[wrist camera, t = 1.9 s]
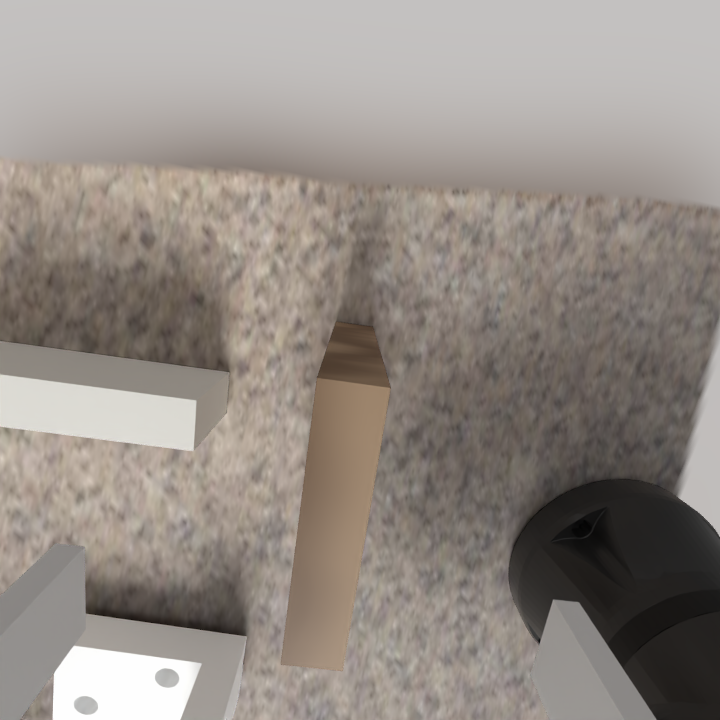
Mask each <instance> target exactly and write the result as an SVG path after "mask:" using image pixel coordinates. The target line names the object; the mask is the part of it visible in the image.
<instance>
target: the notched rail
mask: <svg viewBox="0 0 720 720" xmlns="http://www.w3.org/2000/svg"><path fill="white" fill-rule="evenodd" d="M229 374H230V372H224V371H217V370H210V369H202V368H195V367H188V366H180V365H173V364H166V363H158V362H151V361H144V360H136V359H129V358H122V357H114V356H107V355H100V354H92V353H85V352H78V351H70V350H63V349H56V348H48V347H41V346H34V345H26V344H19V343H12V342H4V341H0V427H8V428H16V429H24V430H32V431H39V432H47V433H55V434H63V435H71V436H79V437H87V438H94V439H102V440H110V441H118V442H126V443H134V444H141V445H149V446H157V447H165V448H173V449H181V450H189V451H194V450H195V449H196V448H197V447H198V445H199V444H200V443H201V442H202V441H203V440H204V439H205V437H206V436H207V435H208V434H209V433H210V432H211V430H212V429H213V428H214V427H215V426H216V425H217V424H218V422H219V421H220V420H221V419H222V418H223V417H224V415H225V414H226V413H227V400H228V387H229Z"/></svg>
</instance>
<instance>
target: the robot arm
mask: <svg viewBox="0 0 720 720" xmlns="http://www.w3.org/2000/svg"><path fill="white" fill-rule="evenodd" d="M509 584H510V590H511V594H512V597H513V600H514V603H515V605H516V607H517V609H518V611H519V613H520V615H521V617H522V620H523V622H524V624H525V626H526V627H527V629H528V631H529V632H530V634H531V635H532V637H533V638H534V640H535V641H536V642H537V643H538V644H539V648H538V651H537V654H536V657H535V661H534V664H533V667H532V671H531V674H530V676H531V678H532V681H533V683H534V685H535V688H536V690H537V692H538V695H539V697H540V699H541V702H542V704H543V706H544V709H545V711H546V713H547V716H548V718H549V720H720V537H719V535H718V534H717V532H716V530H715V529H714V528H713V526H711V524H710V523H709V522H708V521H707V520H706V519H705V518H704V517H703V516H702V515H701V514H699V513H698V512H697V511H695V510H694V509H693V508H691V507H690V506H689V505H687V504H686V503H685V502H683V501H682V500H680V499H679V498H678V497H676V496H675V495H673V494H672V493H670V492H669V491H667V490H665V489H663V488H661V487H658V486H656V485H653V484H650V483H646V482H641V481H636V480H606V481H600V482H595V483H591V484H587V485H584V486H581V487H578V488H576V489H573V490H571V491H569V492H567V493H565V494H563V495H561V496H560V497H558V498H556V499H555V500H553V501H552V502H551V503H549V504H548V505H546V506H545V507H544V508H543V509H542V510H541V511H540V512H538V513H537V514H536V515H535V516H534V518H533V519H532V520H531V521H530V522H529V523H528V525H527V526H526V527H525V529H524V530H523V532H522V533H521V535H520V537H519V539H518V541H517V543H516V545H515V547H514V550H513V553H512V556H511V561H510V567H509ZM85 630H86V604H85V547H83V546H75V545H66V544H57V543H56V544H55V545H54V546H53V547H52V548H50V549H49V550H48V551H47V552H46V553H45V554H44V555H43V556H42V557H41V558H40V559H39V560H38V561H37V562H36V563H35V564H34V565H32V566H31V567H30V568H29V569H28V570H27V571H26V572H25V573H24V574H23V575H22V576H21V577H20V578H19V579H18V580H17V581H16V582H14V583H13V584H12V585H11V586H10V587H9V588H8V589H7V590H6V591H5V592H4V593H3V594H2V595H1V596H0V720H20V719H21V717H22V716H23V715H24V713H25V712H26V711H27V709H28V708H29V706H30V705H31V704H32V702H33V701H34V700H35V698H36V697H37V695H38V694H39V693H40V691H41V690H42V689H43V687H44V686H45V685H46V683H47V682H48V680H49V679H50V678H51V676H52V675H53V674H54V672H55V671H56V669H57V668H58V667H59V665H60V664H61V663H62V661H63V660H64V658H65V657H66V656H67V654H68V653H69V652H70V650H71V649H72V648H73V646H74V645H75V643H76V642H77V641H78V639H79V638H80V637H81V635H82V634H83V632H84V631H85Z"/></svg>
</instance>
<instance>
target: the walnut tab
mask: <svg viewBox="0 0 720 720" xmlns="http://www.w3.org/2000/svg"><path fill="white" fill-rule="evenodd" d="M390 389H391V387H390V384H389V380H388V377H387V373H386V370H385V367H384V363H383V360H382V356H381V353H380V349H379V346H378V342H377V339H376V336H375V332H374V329H373V327H370V326H363V325H357V324H350V323H343V322H336V323H335V326H334V329H333V332H332V335H331V338H330V341H329V344H328V347H327V350H326V353H325V356H324V359H323V362H322V364H321V367H320V370H319V373H318V376H317V382H316V389H315V397H314V405H313V413H312V421H311V429H310V437H309V445H308V452H307V460H306V468H305V476H304V484H303V492H302V500H301V507H300V515H299V523H298V531H297V539H296V547H295V555H294V563H293V570H292V578H291V586H290V594H289V602H288V610H287V618H286V626H285V633H284V641H283V649H282V657H281V665H289V666H299V667H308V668H318V669H327V670H337V671H343V666H344V660H345V654H346V648H347V642H348V636H349V630H350V624H351V619H352V613H353V607H354V601H355V595H356V589H357V583H358V577H359V572H360V566H361V560H362V554H363V548H364V542H365V536H366V530H367V525H368V519H369V513H370V507H371V501H372V495H373V489H374V483H375V477H376V472H377V466H378V460H379V454H380V448H381V442H382V436H383V430H384V425H385V419H386V413H387V407H388V401H389V395H390Z"/></svg>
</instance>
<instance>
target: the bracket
mask: <svg viewBox="0 0 720 720" xmlns="http://www.w3.org/2000/svg"><path fill="white" fill-rule="evenodd" d="M246 640H247V636H240V635H232V634H225V633H218V632H211V631H204V630H197V629H190V628H183V627H176V626H169V625H162V624H155V623H148V622H141V621H134V620H126V619H119V618H112V617H105V616H98V615H91V614H86V630H85V631H84V632H83V634H82V635H81V637H80V638H79V639H78V641H77V642H76V643H75V645H74V646H73V648H72V649H71V650H70V652H69V653H68V654H67V656H66V657H65V658H64V660H63V661H62V663H61V664H60V665H59V667H58V668H57V669H56V671H55V672H54V697H53V720H233V717H234V713H235V709H236V706H237V702H238V698H239V692H240V685H241V679H242V673H243V666H244V664H243V660H244V653H245V647H246Z"/></svg>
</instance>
